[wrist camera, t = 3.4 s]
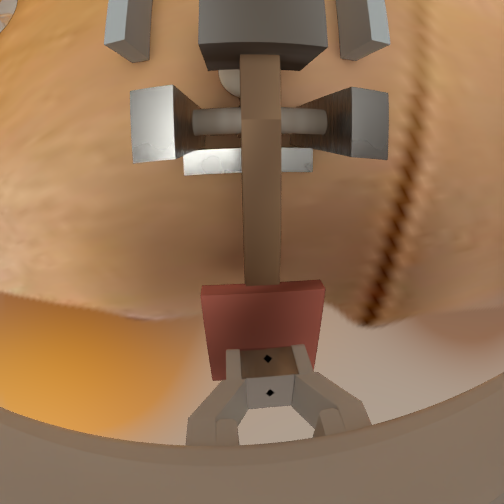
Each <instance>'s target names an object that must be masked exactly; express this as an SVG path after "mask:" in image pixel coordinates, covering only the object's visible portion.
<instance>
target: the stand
mask: <svg viewBox="0 0 504 504" xmlns="http://www.w3.org/2000/svg"><path fill="white" fill-rule="evenodd" d="M296 108H308V109H323V110H325V112H326V115H327V129H326V132H325V134H324V135H321V134H297V133H292V134H290V145H296V146H301V147H307V148H294V147H281V172H312V170H313V149H317V150H322V151H326V152H331V153H336V154H340V155H345V156H349V157H357V158H371V159H382V160H387V159H388V130H389V103H388V93H386V92H380V91H375V90H369V89H363V88H357V87H349V88H347V89H344V90H341V91H338V92H335V93H332V94H329V95H327V96H324V97H321V98H319V99H316V100H313V101H311V102H308V103H306V104H303V105H301V106H298V107H296ZM197 109H201V108H200V107H199V106H198V105H196V104H195V103H194V102H193V101H192V100H191V99H189V98H188V97H187V96H186V95H185V94H183V93H182V92H181V91H180V90H179V89H177V88H176V87H175V86H174V85H166V86H159V87H152V88H146V89H140V90H134V91H130V115H131V138H132V154H133V164H134V163H142V162H151V161H161V160H171V159H177V158H179V157H181V156H183V162H184V176H185V175H200V174H218V173H242V168H241V148H222V149H204V150H198V149H200V148H203V147H205V135H199V136H194V132H193V121H192V118H193V110H197Z"/></svg>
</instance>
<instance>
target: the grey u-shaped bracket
mask: <svg viewBox="0 0 504 504" xmlns="http://www.w3.org/2000/svg"><path fill="white" fill-rule="evenodd" d="M152 1H153V0H109V3H108V10H107V19H106V28H105V39H104V45H105V46H107V47H109V48H110V49H112V50H113V51H115V52H117V53H118V54H120V55H121V56H123V57H124V58H126V59H127V60H129V61H130V62H132V63H135V62H140V61H146V60H149V50H150V28H151V13H152ZM336 7H337V17H338V28H339V40H340V56H341V58H342V59H349V60H354V61H357V60H359V59H361V58H363V57H365V56H367V55H369V54H371V53H373V52H375V51H377V50H379V49H382V48H384V47H386V46H388V45H390V37H389V28H388V21H387V14H386V7H385V1H384V0H336Z"/></svg>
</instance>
